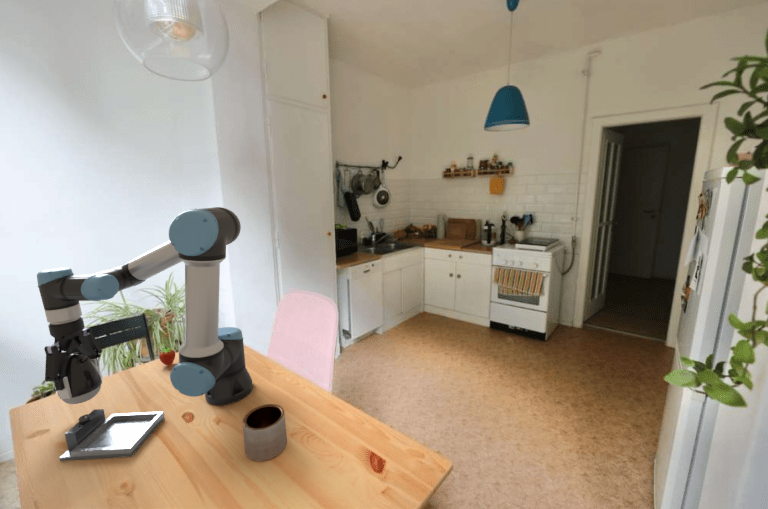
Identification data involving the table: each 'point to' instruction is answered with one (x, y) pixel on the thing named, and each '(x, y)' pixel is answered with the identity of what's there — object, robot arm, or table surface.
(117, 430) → the tray unit
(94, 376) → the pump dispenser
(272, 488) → the table surface
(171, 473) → the table surface
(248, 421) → the planter
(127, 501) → the table surface
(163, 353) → the fruit
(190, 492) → the table surface
